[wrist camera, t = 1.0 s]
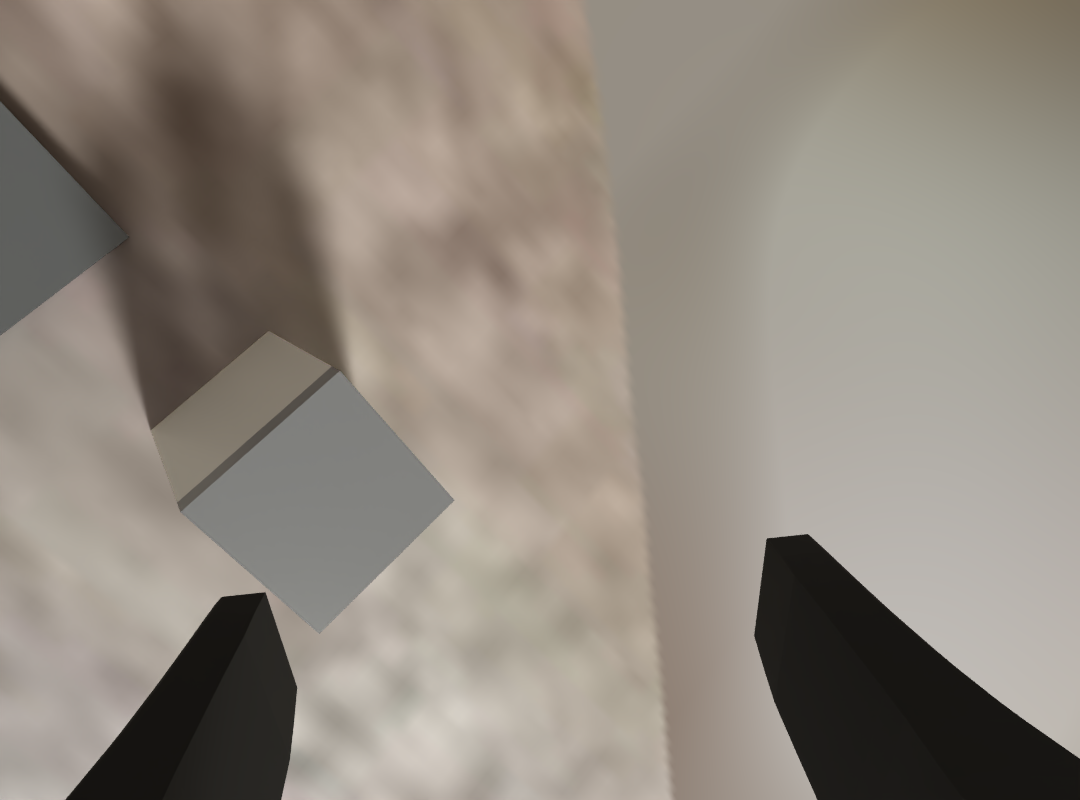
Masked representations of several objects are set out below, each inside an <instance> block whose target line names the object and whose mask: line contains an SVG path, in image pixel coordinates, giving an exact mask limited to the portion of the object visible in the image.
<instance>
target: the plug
mask: <svg viewBox="0 0 1080 800" xmlns="http://www.w3.org/2000/svg"><path fill="white" fill-rule="evenodd" d="M151 433H152V436H153V438H154V441H155V444H156V446H157V449H158V452H159V455H160V457H161V460H162V463H163V466H164V468H165V471H166V474H167V477H168V479H169V482H170V485H171V487H172V490H173V493H174V496H175V498H176V501H177V504H178V507H179V509H180V512H181V513H182V514H183V515H184V516H186V517H187V518H188V519H189V520H190V521H191V522H192V523H194V524H195V525H196V526H197V527H198V528H199V529H200V530H202V531H203V532H204V533H205V534H206V535H207V536H208V537H209V538H211V539H212V540H213V541H214V542H215V543H216V544H217V545H219V546H220V547H221V548H222V549H223V550H224V551H225V552H227V553H228V554H229V555H230V556H231V557H232V558H233V559H235V560H236V561H237V562H238V563H239V564H240V565H241V566H243V567H244V568H245V569H246V570H247V571H248V572H249V573H250V574H252V575H253V576H254V577H255V578H256V579H257V580H258V581H260V582H261V583H262V584H263V585H264V586H265V587H266V588H268V589H269V590H270V591H271V592H272V593H273V594H274V595H276V596H277V597H278V598H279V599H280V600H281V601H282V602H284V603H285V604H286V605H287V606H288V607H289V608H290V609H291V610H293V611H294V612H295V613H296V614H297V615H298V616H299V617H301V618H302V619H303V620H304V621H305V622H306V623H307V624H309V625H310V626H311V627H312V628H313V629H314V630H315V631H317V632H318V633H319V634H320V633H321V632H322V631H323V630H324V629H325V628H326V627H327V626H328V625H329V624H330V623H331V622H332V621H333V620H334V619H335V618H336V617H337V616H338V615H339V614H340V613H341V612H342V611H343V610H344V609H345V608H346V607H347V606H348V605H349V604H350V603H351V602H352V601H353V600H354V599H355V598H356V597H357V596H358V595H359V594H360V593H361V592H362V591H363V590H364V589H365V588H366V587H367V586H368V585H369V584H370V583H371V582H372V581H373V580H374V579H375V578H376V577H377V576H378V575H379V574H380V573H381V572H382V571H383V570H384V569H385V568H386V567H387V566H388V565H389V564H390V563H392V562H393V561H394V560H395V559H396V558H397V557H398V556H399V555H400V554H401V553H402V552H403V551H404V550H405V549H406V548H407V547H408V546H409V545H410V544H411V543H412V542H413V541H414V540H415V539H416V538H417V537H418V536H419V535H420V534H421V533H422V532H423V531H424V530H425V529H426V528H427V527H428V526H429V525H430V524H431V523H432V522H433V521H434V520H435V519H436V518H437V517H438V516H439V515H440V514H441V513H442V512H443V511H444V510H445V509H446V508H447V507H448V506H449V505H450V504H451V503H452V502H453V501H454V499H453V498H452V497H451V496H450V495H449V493H448V492H447V491H446V490H445V489H444V488H443V487H442V486H441V484H440V483H439V482H438V481H437V480H436V479H435V478H434V476H433V475H432V474H431V473H430V472H429V471H428V470H427V469H426V467H425V466H424V465H423V464H422V463H421V462H420V461H419V460H418V458H417V457H416V456H415V455H414V454H413V453H412V452H411V450H410V449H409V448H408V447H407V446H406V445H405V444H404V443H403V441H402V440H401V439H400V438H399V437H398V436H397V435H396V433H395V432H394V431H393V430H392V429H391V428H390V427H389V426H388V424H387V423H386V422H385V421H384V420H383V419H382V418H381V417H380V415H379V414H378V413H377V412H376V411H375V410H374V409H373V407H372V406H371V405H370V404H369V403H368V402H367V401H366V400H365V398H364V397H363V396H362V395H361V394H360V393H359V392H358V391H357V389H356V388H355V387H354V386H353V385H352V384H351V383H350V381H349V380H348V379H347V378H346V377H345V376H344V375H343V374H342V372H341V371H340V370H338V369H336V368H334V367H332V366H331V365H329V364H327V363H325V362H323V361H322V360H320V359H318V358H316V357H315V356H313V355H311V354H309V353H307V352H306V351H304V350H302V349H300V348H298V347H297V346H295V345H293V344H291V343H290V342H288V341H286V340H284V339H282V338H281V337H279V336H277V335H275V334H273V333H272V332H270V331H268V332H267V333H265V334H264V335H263V336H262V337H261V338H260V339H258V340H257V341H256V342H255V343H254V344H252V345H251V346H250V347H249V348H248V349H246V350H245V351H244V352H243V353H242V354H241V355H239V356H238V357H237V358H236V359H235V360H233V361H232V362H231V363H230V364H229V365H228V366H226V367H225V368H224V369H223V370H222V371H220V372H219V373H218V374H217V375H216V376H215V377H213V378H212V379H211V380H210V381H209V382H207V383H206V384H205V385H204V386H203V387H201V388H200V389H199V390H198V391H197V392H196V393H194V394H193V395H192V396H191V397H190V398H188V399H187V400H186V401H185V402H184V403H183V404H181V405H180V406H179V407H178V408H177V409H175V410H174V411H173V412H172V413H171V414H169V415H168V416H167V417H166V418H165V419H164V420H162V421H161V422H160V423H159V424H158V425H156V426H155V427H154V428H153V429H152V430H151Z"/></svg>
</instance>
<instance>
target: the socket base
mask: <svg viewBox="0 0 1080 800" xmlns="http://www.w3.org/2000/svg"><path fill="white" fill-rule="evenodd" d="M127 238H129V236H128V235H127V234H126V233H125V232H124V231H123V230H122V229H121V228H120V227H119V226H118V225H117V224H116V223H115V222H114V221H113V220H112V218H111V217H110V216H109V215H108V214H107V213H106V212H105V211H104V210H103V209H102V208H101V207H100V206H99V205H98V204H97V203H96V202H95V201H94V200H93V199H92V197H91V196H90V195H89V194H88V193H87V192H86V191H85V190H84V189H83V188H82V187H81V186H80V185H79V184H78V183H77V182H76V181H75V180H74V179H73V177H72V176H71V175H70V174H69V173H68V172H67V171H66V170H65V169H64V168H63V167H62V166H61V165H60V164H59V163H58V162H57V161H56V160H55V159H54V157H53V156H52V155H51V154H50V153H49V152H48V151H47V150H46V149H45V148H44V147H43V146H42V145H41V144H40V143H39V142H38V141H37V140H36V139H35V138H34V136H33V135H32V134H31V133H30V132H29V131H28V130H27V129H26V128H25V127H24V126H23V125H22V124H21V123H20V122H19V121H18V120H17V119H16V118H15V116H14V115H13V114H12V113H11V112H10V111H9V110H8V109H7V108H6V107H5V106H4V105H3V104H2V103H1V102H0V335H2V334H3V333H4V332H5V331H7V330H8V329H9V328H11V327H12V326H13V325H15V324H16V323H17V322H19V321H20V320H21V319H22V318H24V317H25V316H26V315H28V314H29V313H30V312H32V311H33V310H34V309H36V308H37V307H38V306H40V305H41V304H42V303H43V302H45V301H46V300H47V299H49V298H50V297H51V296H53V295H54V294H55V293H57V292H58V291H59V290H60V289H62V288H63V287H64V286H66V285H67V284H68V283H70V282H71V281H72V280H74V279H75V278H76V277H77V276H79V275H80V274H81V273H83V272H84V271H85V270H87V269H88V268H89V267H91V266H92V265H93V264H95V263H96V262H97V261H98V260H100V259H101V258H102V257H104V256H105V255H106V254H108V253H109V252H110V251H112V250H113V249H114V248H115V247H117V246H118V245H119V244H121V243H122V242H123V241H125V240H126V239H127Z"/></svg>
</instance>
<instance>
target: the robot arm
mask: <svg viewBox="0 0 1080 800" xmlns="http://www.w3.org/2000/svg"><path fill="white" fill-rule="evenodd" d="M754 636H755V640H756V643H757V647H758V650H759V653H760V657H761V660H762V663H763V667H764V670H765V674H766V677H767V680H768V683H769V686H770V689H771V692H772V695H773V699H774V702H775V704H776V706H777V709H778V711H779V714H780V716H781V718H782V720H783V723H784V725H785V727H786V730H787V732H788V734H789V736H790V739H791V741H792V743H793V746H794V748H795V750H796V753H797V755H798V757H799V759H800V762H801V764H802V766H803V768H804V771H805V772H806V775H807V777H808V779H809V782H810V784H811V786H812V788H813V791H814V793H815V795H816V798H817V800H1080V759H1079V758H1078V757H1076V756H1075V755H1074V754H1072V753H1071V752H1069V751H1068V750H1066V749H1065V748H1064V747H1062V746H1061V745H1059V744H1058V743H1056V742H1055V741H1054V740H1052V739H1051V738H1049V737H1048V736H1046V735H1045V734H1044V733H1042V732H1041V731H1039V730H1038V729H1036V728H1035V727H1033V726H1032V725H1031V724H1029V723H1028V722H1026V721H1025V720H1024V719H1022V718H1021V717H1019V716H1018V715H1017V714H1015V713H1014V712H1012V711H1011V710H1010V709H1009V708H1007V707H1006V706H1005V705H1003V704H1002V703H1000V702H999V701H998V700H997V699H995V698H994V697H993V696H991V695H990V694H989V693H988V692H986V691H985V690H984V689H983V688H981V687H980V686H979V685H978V684H976V683H975V682H974V681H973V680H971V679H970V678H969V677H968V676H966V675H965V674H964V673H962V672H961V671H960V670H959V669H958V668H956V667H955V666H954V665H953V664H951V663H950V662H949V661H948V660H947V659H945V658H944V657H943V656H942V655H941V654H939V653H938V652H937V651H936V650H935V649H934V648H932V647H931V646H930V645H929V644H928V643H927V642H925V641H924V640H923V639H922V638H921V637H920V636H919V635H918V634H916V633H915V632H914V631H913V630H912V629H911V628H909V627H908V626H907V625H906V624H905V623H904V622H903V621H901V620H900V619H899V618H898V617H897V616H896V615H895V614H894V613H892V612H891V611H890V610H889V609H888V608H887V607H886V606H885V605H884V604H882V603H881V602H880V601H879V600H878V599H877V598H876V597H875V596H874V595H873V594H872V593H870V592H869V591H868V590H867V589H866V588H865V587H864V586H863V585H862V584H861V583H860V582H859V581H857V580H856V579H855V578H854V577H853V576H852V575H851V574H850V573H849V572H848V571H847V570H846V569H845V568H844V567H843V566H842V565H841V564H839V563H838V562H837V561H836V560H835V559H834V558H833V557H832V556H831V555H830V554H829V553H828V552H827V551H826V550H825V549H824V548H823V547H821V546H820V545H819V544H818V543H817V542H816V541H815V540H814V539H813V538H812V537H810V536H809V535H808V534H805V535H796V536H787V537H777V538H768V539H767V540H766V548H765V556H764V564H763V572H762V580H761V587H760V595H759V603H758V610H757V619H756V626H755V634H754ZM296 694H297V686H296V683H295V680H294V677H293V674H292V671H291V668H290V665H289V662H288V659H287V656H286V653H285V650H284V647H283V644H282V641H281V638H280V635H279V632H278V629H277V626H276V623H275V620H274V617H273V614H272V611H271V608H270V605H269V602H268V599H267V596H266V593H265V592H264V593H254V594H245V595H236V596H226V597H221V598H220V600H219V601H218V602H217V603H216V604H215V605H214V607H213V608H212V610H211V611H210V612H209V614H208V615H207V617H206V618H205V619H204V621H203V622H202V623H201V625H200V626H199V628H198V629H197V631H196V632H195V633H194V635H193V636H192V638H191V639H190V640H189V642H188V643H187V645H186V646H185V647H184V649H183V650H182V651H181V653H180V654H179V656H178V657H177V658H176V660H175V661H174V663H173V664H172V665H171V667H170V668H169V669H168V671H167V672H166V673H165V675H164V676H163V678H162V679H161V680H160V682H159V683H158V684H157V686H156V687H155V688H154V690H153V691H152V692H151V694H150V695H149V696H148V698H147V699H146V700H145V701H144V703H143V704H142V705H141V707H140V708H139V709H138V711H137V712H136V713H135V715H134V716H133V717H132V718H131V720H130V721H129V722H128V724H127V725H126V726H125V728H124V729H123V730H122V732H121V733H120V734H119V735H118V737H117V738H116V739H115V740H114V742H113V743H112V744H111V745H110V747H109V748H108V749H107V750H106V751H105V753H104V754H103V755H102V756H101V757H100V759H99V760H98V761H97V762H96V764H95V765H94V766H93V767H92V768H91V770H90V771H89V772H88V773H87V774H86V776H85V777H84V778H83V779H82V780H81V782H80V783H79V784H78V785H77V786H76V788H75V789H74V790H73V791H72V792H71V794H70V795H69V796H68V797H67V798H66V800H281V797H282V793H283V788H284V784H285V779H286V775H287V770H288V765H289V760H290V753H291V744H292V735H293V727H294V716H295V705H296Z"/></svg>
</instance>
